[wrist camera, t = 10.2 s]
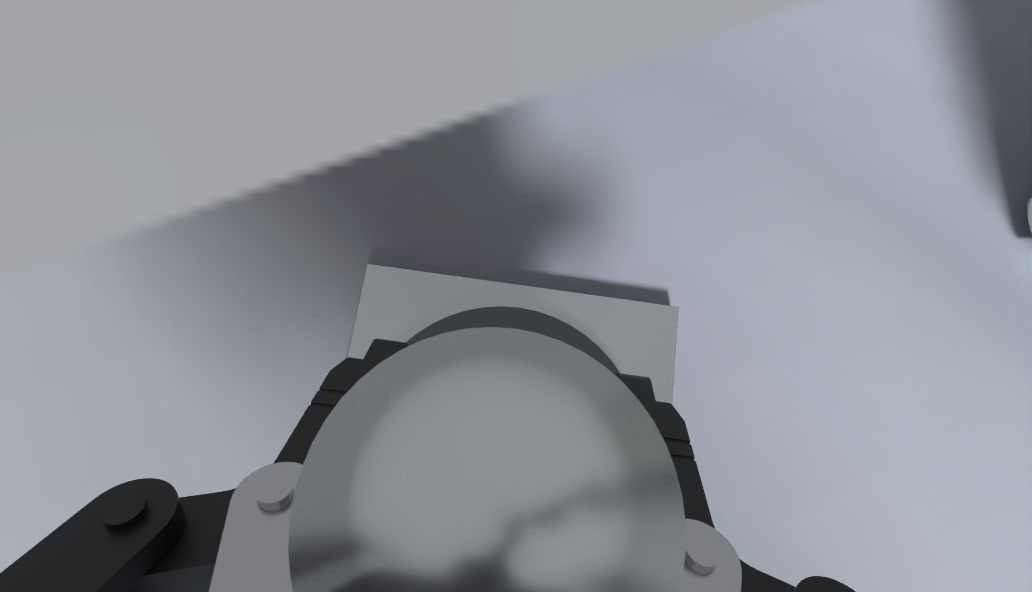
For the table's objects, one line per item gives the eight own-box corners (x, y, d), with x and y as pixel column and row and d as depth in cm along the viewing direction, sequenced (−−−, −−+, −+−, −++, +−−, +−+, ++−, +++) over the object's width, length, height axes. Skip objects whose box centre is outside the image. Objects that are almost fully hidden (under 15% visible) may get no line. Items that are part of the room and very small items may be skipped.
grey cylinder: (581, 390, 16) (696, 354, 7) (565, 550, 15) (673, 786, 6) (435, 369, 16) (337, 303, 7) (408, 527, 15) (242, 723, 6)
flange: (671, 311, 20) (683, 303, 19) (648, 651, 17) (660, 671, 16) (372, 269, 20) (362, 259, 19) (302, 601, 17) (285, 616, 16)
